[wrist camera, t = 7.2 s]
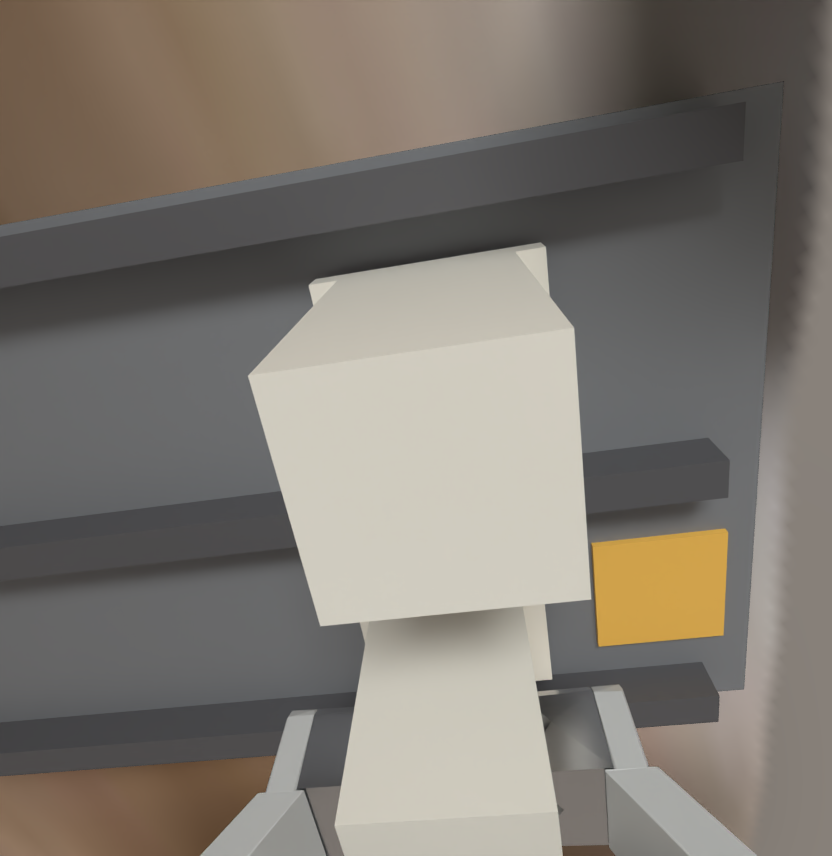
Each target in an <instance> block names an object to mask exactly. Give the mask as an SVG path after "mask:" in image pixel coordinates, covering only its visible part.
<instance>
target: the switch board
mask: <svg viewBox="0 0 832 856" xmlns="http://www.w3.org/2000/svg"><path fill="white" fill-rule="evenodd" d="M783 88H784V81H783V82H777V83H772V84H766V85H761V86H756V87H750V88H745V89H739V90H734V91H728V92H723V93H717V94H712V95H707V96H701V97H696V98H690V99H685V100H679V101H674V102H668V103H663V104H658V105H652V106H647V107H641V108H636V109H630V110H625V111H620V112H614V113H609V114H603V115H598V116H592V117H587V118H581V119H576V120H571V121H565V122H560V123H554V124H549V125H543V126H538V127H532V128H527V129H522V130H516V131H511V132H505V133H500V134H494V135H489V136H483V137H478V138H473V139H467V140H462V141H456V142H451V143H445V144H440V145H434V146H429V147H424V148H418V149H413V150H407V151H402V152H396V153H391V154H385V155H380V156H375V157H369V158H364V159H358V160H353V161H347V162H342V163H337V164H331V165H326V166H320V167H315V168H309V169H304V170H298V171H293V172H288V173H282V174H277V175H271V176H266V177H260V178H255V179H249V180H244V181H239V182H233V183H228V184H222V185H217V186H211V187H206V188H200V189H195V190H190V191H184V192H179V193H173V194H168V195H162V196H157V197H151V198H146V199H141V200H135V201H130V202H124V203H119V204H113V205H108V206H102V207H97V208H92V209H86V210H81V211H75V212H70V213H64V214H59V215H54V216H48V217H43V218H37V219H32V220H26V221H21V222H15V223H10V224H5V225H0V776H10V775H23V774H36V773H49V772H63V771H76V770H89V769H102V768H115V767H128V766H142V765H155V764H168V763H181V762H194V761H207V760H221V759H234V758H247V757H260V756H273V755H277V751H278V748H279V744H280V741H281V738H282V734H283V731H284V727H285V724H286V720H287V718H288V716H289V715H290V713H291V712H292V711H296V710H313V709H324V708H343V707H355V701H356V695H357V689H358V684H359V678H360V672H361V666H362V660H363V654H364V648H365V641H364V637H363V633H362V629H361V625H360V622H359V623H349V624H339V625H329V626H320V623H319V620H318V616H317V613H316V610H315V606H314V603H313V599H312V596H311V592H310V589H309V585H308V582H307V578H306V575H305V572H304V568H303V565H302V561H301V558H300V554H299V551H298V547H297V544H296V540H295V537H294V533H293V530H292V527H291V523H290V520H289V516H288V513H287V509H286V506H285V502H284V499H283V495H282V492H281V488H280V485H279V482H278V478H277V475H276V471H275V468H274V464H273V461H272V457H271V454H270V450H269V447H268V443H267V440H266V437H265V433H264V430H263V426H262V423H261V419H260V416H259V412H258V409H257V405H256V402H255V398H254V395H253V392H252V388H251V385H250V381H249V378H248V375H249V374H250V373H251V372H252V371H253V370H254V369H255V368H256V367H257V366H258V365H259V363H260V362H261V361H262V360H263V359H264V358H265V357H266V356H267V355H268V354H269V353H270V352H271V351H272V350H273V349H274V347H275V346H276V345H277V344H278V343H279V342H280V341H281V340H282V339H283V338H284V337H285V336H286V335H287V334H288V332H289V331H290V330H291V329H292V328H293V327H294V326H295V325H296V324H297V323H298V322H299V321H300V320H301V319H302V318H303V316H304V315H305V314H306V313H307V312H308V311H309V310H310V309H311V308H312V307H313V302H312V298H311V294H310V290H309V284H310V283H312V282H313V281H314V280H315V279H319V278H325V277H331V276H337V275H344V274H350V273H356V272H362V271H368V270H374V269H380V268H386V267H393V266H399V265H405V264H411V263H417V262H423V261H429V260H436V259H442V258H448V257H454V256H460V255H466V254H472V253H478V252H485V251H491V250H497V249H503V248H509V247H515V246H521V245H527V244H534V243H540V242H541V243H542V244H543V245H544V246H546V255H547V268H548V281H549V294H550V297H551V299H552V300H553V301H554V303H555V304H556V305H557V306H558V308H559V309H560V310H561V312H562V313H563V314H564V315H565V317H566V318H567V319H568V321H569V322H570V323H571V324H572V326H573V327H574V333H575V349H576V365H577V381H578V397H579V413H580V429H581V444H582V460H583V476H584V492H585V508H586V524H587V540H588V556H589V572H590V587H591V600H581V601H571V602H561V603H551V604H545V611H546V620H547V630H548V640H549V650H550V660H551V670H552V680H541V681H536V687H537V692H538V691H549V690H559V689H570V688H581V687H590V688H591V687H595V686H607V685H618V684H619V685H620V686H621V688H622V689H623V692H624V694H625V697H626V700H627V703H628V706H629V709H630V712H631V715H632V718H633V721H634V724H635V727H636V728H642V727H655V726H668V725H682V724H695V723H708V722H718V717H719V694H718V692H717V691H730V690H742V689H744V682H745V666H746V651H747V636H748V621H749V606H750V590H751V575H752V560H753V545H754V529H755V514H756V499H757V484H758V469H759V453H760V438H761V423H762V408H763V392H764V377H765V362H766V347H767V331H768V316H769V301H770V286H771V271H772V255H773V240H774V225H775V210H776V194H777V179H778V164H779V149H780V134H781V118H782V103H783Z"/></svg>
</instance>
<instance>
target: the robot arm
mask: <svg viewBox="0 0 832 856" xmlns="http://www.w3.org/2000/svg"><path fill="white" fill-rule="evenodd" d="M538 698H539V704H540V710H541V716H542V721H543V727H544V733H545V739H546V745H547V750H548V756H549V762H550V768H551V774H552V780H553V785H554V791H555V797H556V803H557V809H558V816H559V825H560V834H561V844H562V846H581V845H609V848H610V849H611V850H612V852H613V853H614V854H615V855H616V856H757V855H756V854H755V853H754V852H753V851H752V850H751V849H749V848H748V847H747V846H746V845H745V844H744V843H743V842H742V841H740V840H739V839H738V838H737V837H736V836H735V835H734V834H733V833H732V832H730V831H729V830H728V829H727V828H726V827H725V826H724V825H723V824H722V823H720V822H719V821H718V820H717V819H716V818H715V817H714V816H713V815H711V814H710V813H709V812H708V811H707V810H706V809H705V808H704V807H703V806H701V805H700V804H699V803H698V802H697V801H696V800H695V799H694V798H693V797H691V796H690V795H689V794H688V793H687V792H686V791H685V790H684V789H682V788H681V787H680V786H679V785H678V784H677V783H676V782H675V781H674V780H672V779H671V778H670V777H669V776H668V775H667V774H666V773H665V772H664V771H662V770H661V769H660V768H659V767H649V765H648V762H647V759H646V757H645V754H644V751H643V748H642V745H641V742H640V739H639V736H638V733H637V730H636V727H635V724H634V721H633V718H632V715H631V712H630V709H629V706H628V703H627V700H626V697H625V694H624V692H623V689H622V688H621V686H620V685H619V684H618V685H607V686H595V687H591V688H590V687H581V688H570V689H559V690H549V691H538ZM353 713H354V707H343V708H324V709H313V710H296V711H292V712H291V713H290V715H289V716H288V718H287V720H286V724H285V727H284V731H283V734H282V738H281V741H280V744H279V748H278V751H277V755H276V758H275V762H274V765H273V768H272V772H271V775H270V779H269V782H268V786H267V789H266V792H265V793H257V795H256V796H255V797H254V798H253V799H252V800H251V801H250V802H249V803H248V804H247V805H246V806H245V808H244V809H243V810H242V811H241V812H240V813H239V814H238V815H237V816H236V817H235V818H234V819H233V821H232V822H231V823H230V824H229V825H228V826H227V827H226V828H225V829H224V830H223V831H222V832H221V834H220V835H219V836H218V837H217V838H216V839H215V840H214V841H213V842H212V843H211V844H210V845H209V847H208V848H207V849H206V850H205V851H204V852H203V853H202V854H201V855H200V856H344V853H343V850H342V847H341V844H340V841H339V838H338V835H337V832H336V829H335V826H334V825H335V819H336V813H337V808H338V802H339V796H340V790H341V784H342V778H343V772H344V766H345V760H346V754H347V749H348V743H349V737H350V731H351V725H352V719H353Z"/></svg>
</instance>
